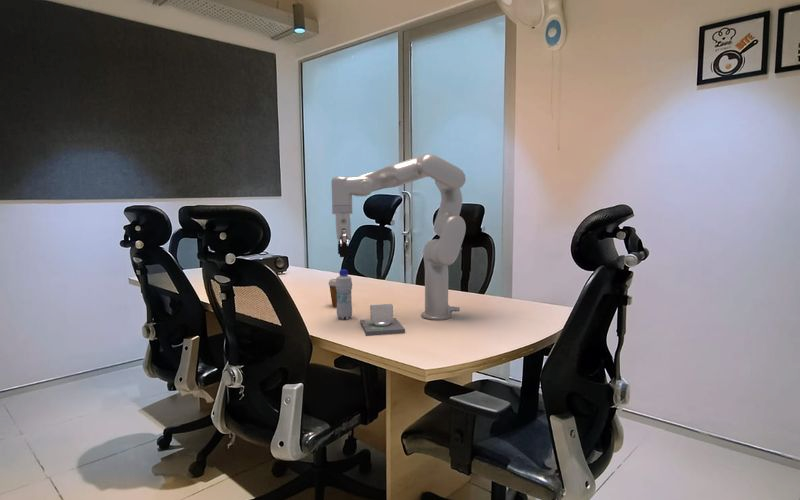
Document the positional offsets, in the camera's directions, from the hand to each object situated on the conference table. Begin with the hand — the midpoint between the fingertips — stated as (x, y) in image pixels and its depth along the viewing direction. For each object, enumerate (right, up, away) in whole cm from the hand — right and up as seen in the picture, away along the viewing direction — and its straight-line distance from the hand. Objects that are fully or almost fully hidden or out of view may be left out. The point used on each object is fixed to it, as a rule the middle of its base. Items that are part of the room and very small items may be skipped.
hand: (343, 255), depth 181 cm
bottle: (-1, -26, +13) cm, 29 cm away
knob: (+13, -25, -3) cm, 29 cm away
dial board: (+15, -27, -2) cm, 31 cm away
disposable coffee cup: (-6, -24, +35) cm, 42 cm away
